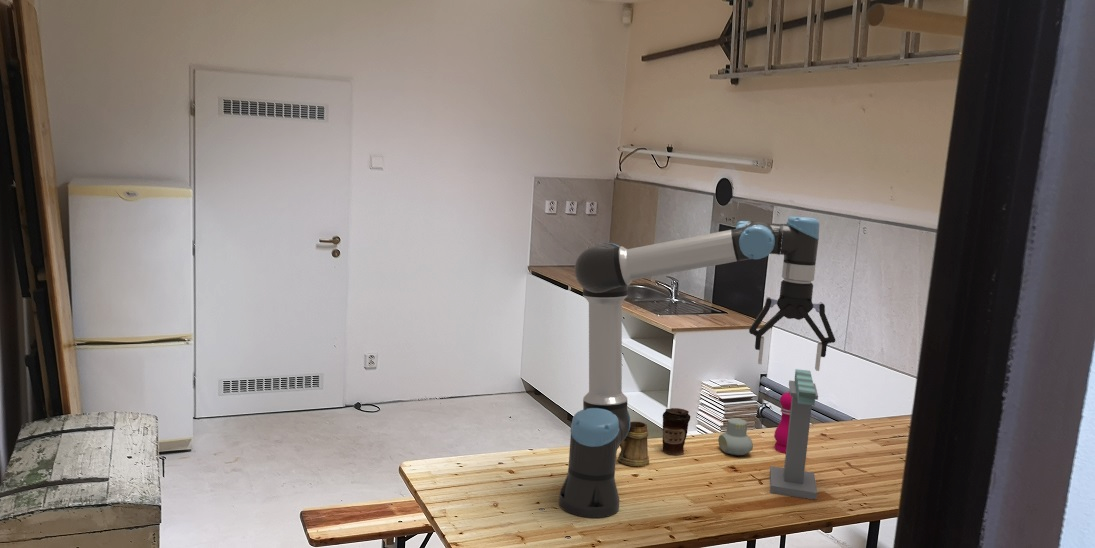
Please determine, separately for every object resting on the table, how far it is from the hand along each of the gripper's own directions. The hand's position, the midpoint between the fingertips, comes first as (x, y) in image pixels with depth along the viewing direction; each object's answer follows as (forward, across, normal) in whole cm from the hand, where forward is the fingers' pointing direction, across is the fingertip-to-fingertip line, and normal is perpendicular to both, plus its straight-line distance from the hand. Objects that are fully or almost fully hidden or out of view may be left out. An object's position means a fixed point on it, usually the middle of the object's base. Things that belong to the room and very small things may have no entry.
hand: (788, 366), depth 205 cm
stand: (+39, -6, -24) cm, 46 cm away
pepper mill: (+39, -6, -55) cm, 68 cm away
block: (+11, -6, -20) cm, 23 cm away
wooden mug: (+39, +40, -24) cm, 60 cm away
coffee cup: (+39, +28, -38) cm, 61 cm away
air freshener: (+39, +9, -46) cm, 61 cm away
